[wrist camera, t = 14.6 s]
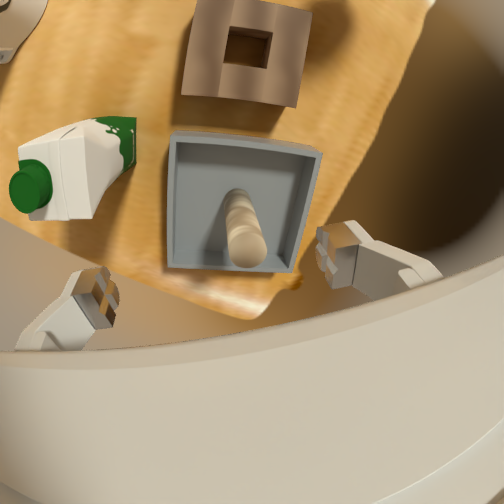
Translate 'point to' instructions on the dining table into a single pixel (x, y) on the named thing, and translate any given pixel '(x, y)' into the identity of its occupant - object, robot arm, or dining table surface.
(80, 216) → the milk carton
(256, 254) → the dowel
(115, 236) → the dining table surface
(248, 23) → the socket block
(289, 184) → the tray
